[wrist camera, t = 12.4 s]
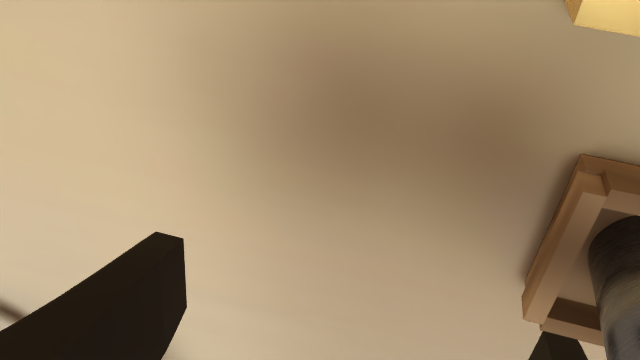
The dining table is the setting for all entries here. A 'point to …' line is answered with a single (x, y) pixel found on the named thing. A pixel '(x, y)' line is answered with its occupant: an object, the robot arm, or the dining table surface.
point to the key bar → (606, 15)
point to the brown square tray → (578, 248)
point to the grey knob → (618, 286)
